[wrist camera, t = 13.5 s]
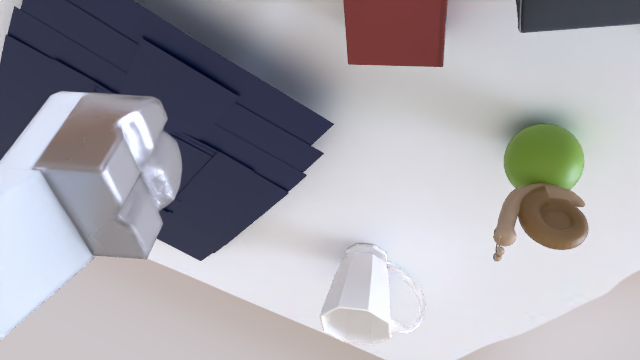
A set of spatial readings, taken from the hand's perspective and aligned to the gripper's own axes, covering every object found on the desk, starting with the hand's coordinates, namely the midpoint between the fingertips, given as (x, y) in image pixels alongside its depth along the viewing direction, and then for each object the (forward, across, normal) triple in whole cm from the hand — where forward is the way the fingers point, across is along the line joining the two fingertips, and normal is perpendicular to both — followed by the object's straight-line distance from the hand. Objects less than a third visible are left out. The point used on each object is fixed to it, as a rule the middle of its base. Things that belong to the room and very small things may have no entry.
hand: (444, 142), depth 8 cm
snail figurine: (+29, -7, +26) cm, 40 cm away
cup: (+29, +5, +44) cm, 53 cm away
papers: (+29, +25, +27) cm, 47 cm away
